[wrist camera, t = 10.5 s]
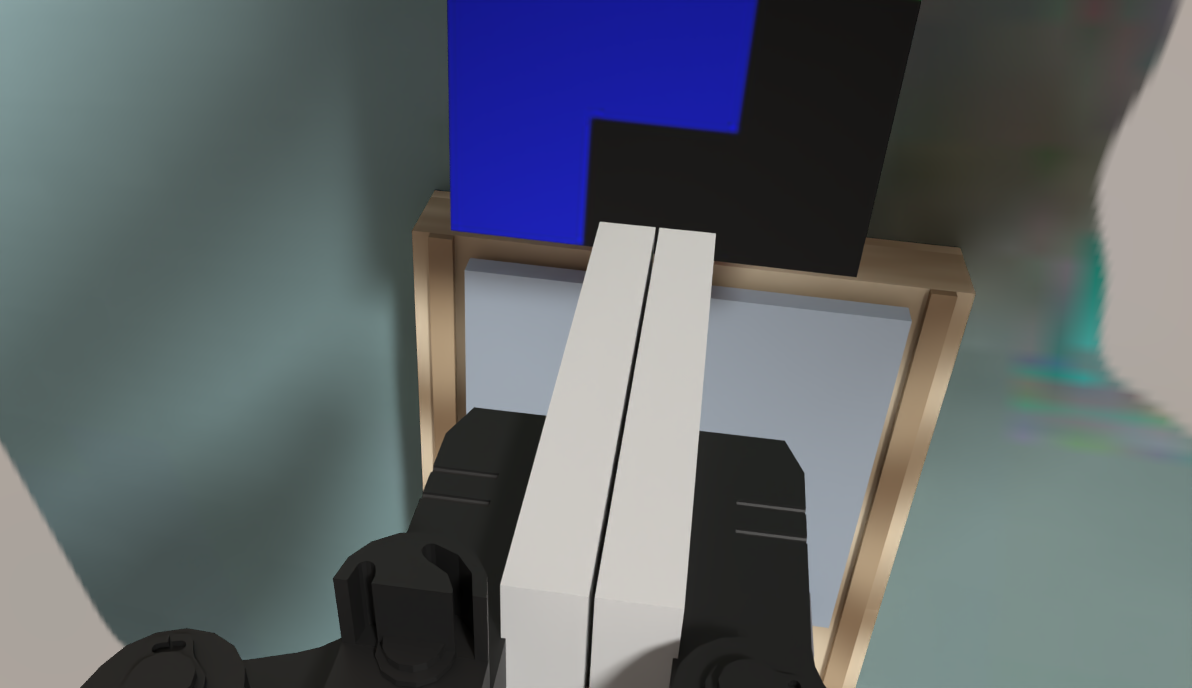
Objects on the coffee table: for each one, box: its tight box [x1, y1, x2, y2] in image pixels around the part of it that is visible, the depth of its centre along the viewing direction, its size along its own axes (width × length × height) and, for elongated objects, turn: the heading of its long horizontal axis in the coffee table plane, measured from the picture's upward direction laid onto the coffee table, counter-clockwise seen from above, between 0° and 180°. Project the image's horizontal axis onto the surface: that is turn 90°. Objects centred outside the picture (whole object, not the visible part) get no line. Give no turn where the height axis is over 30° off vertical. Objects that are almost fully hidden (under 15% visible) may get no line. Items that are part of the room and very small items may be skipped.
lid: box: [465, 258, 912, 657], centre depth 36 cm, size 14×14×4 cm
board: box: [412, 190, 975, 688], centre depth 43 cm, size 29×18×3 cm, turn 177°
